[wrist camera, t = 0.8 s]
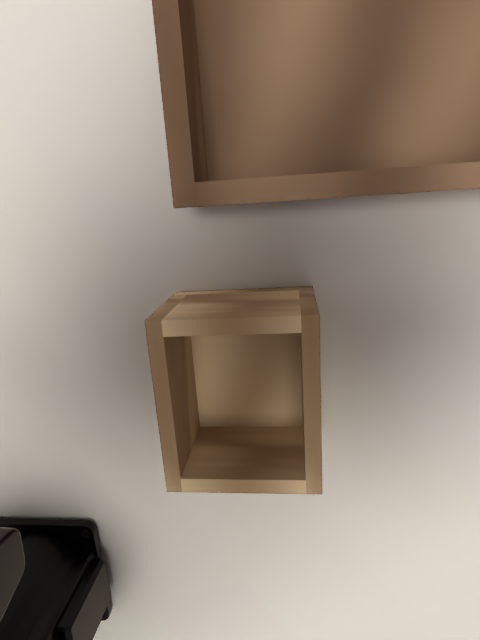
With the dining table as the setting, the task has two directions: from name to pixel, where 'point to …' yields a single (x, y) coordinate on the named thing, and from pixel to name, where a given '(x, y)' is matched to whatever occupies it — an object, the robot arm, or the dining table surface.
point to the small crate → (238, 390)
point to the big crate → (318, 98)
